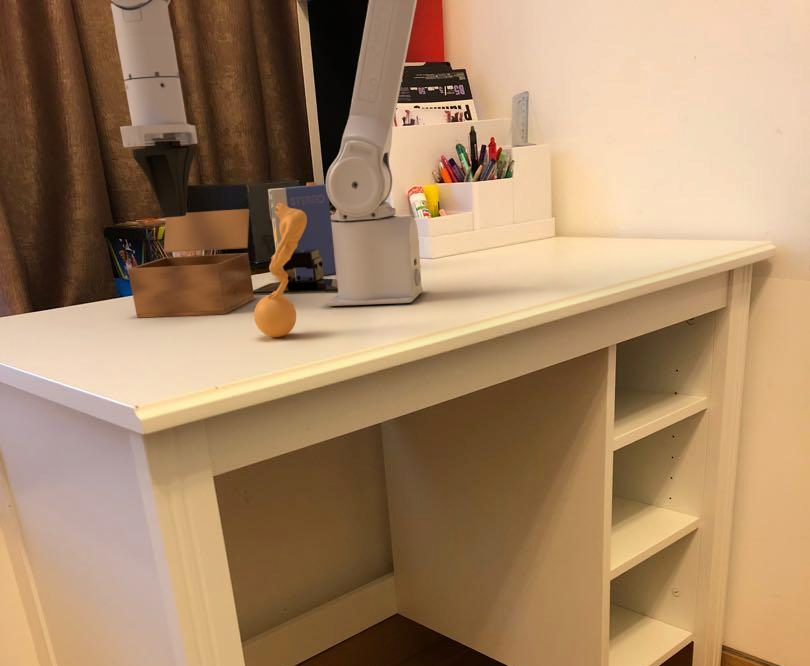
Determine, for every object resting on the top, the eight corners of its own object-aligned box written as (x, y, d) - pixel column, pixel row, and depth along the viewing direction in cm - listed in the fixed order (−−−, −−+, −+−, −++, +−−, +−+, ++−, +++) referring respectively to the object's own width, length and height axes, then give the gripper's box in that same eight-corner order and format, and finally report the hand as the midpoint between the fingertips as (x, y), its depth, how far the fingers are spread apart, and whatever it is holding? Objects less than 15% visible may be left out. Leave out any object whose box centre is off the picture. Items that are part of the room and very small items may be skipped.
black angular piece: (359, 283, 114) (356, 245, 112) (343, 293, 107) (339, 253, 105) (270, 285, 117) (266, 249, 115) (249, 295, 110) (244, 256, 108)
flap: (165, 214, 107) (167, 215, 107) (163, 251, 107) (164, 252, 107) (248, 208, 105) (249, 209, 105) (246, 247, 105) (247, 248, 105)
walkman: (330, 271, 125) (321, 181, 120) (336, 273, 123) (327, 181, 118) (277, 278, 123) (265, 186, 118) (281, 280, 120) (270, 187, 115)
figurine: (266, 329, 88) (249, 202, 83) (325, 325, 88) (311, 198, 83) (248, 347, 81) (228, 209, 76) (313, 343, 80) (297, 204, 75)
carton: (137, 317, 101) (127, 269, 98) (172, 302, 109) (164, 257, 107) (225, 314, 98) (217, 264, 96) (254, 298, 107) (248, 252, 105)
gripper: (147, 86, 99) (169, 212, 105) (82, 80, 87) (111, 225, 92) (205, 80, 98) (224, 209, 104) (148, 73, 85) (173, 221, 91)
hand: (175, 216), depth 98 cm, fingers closed
